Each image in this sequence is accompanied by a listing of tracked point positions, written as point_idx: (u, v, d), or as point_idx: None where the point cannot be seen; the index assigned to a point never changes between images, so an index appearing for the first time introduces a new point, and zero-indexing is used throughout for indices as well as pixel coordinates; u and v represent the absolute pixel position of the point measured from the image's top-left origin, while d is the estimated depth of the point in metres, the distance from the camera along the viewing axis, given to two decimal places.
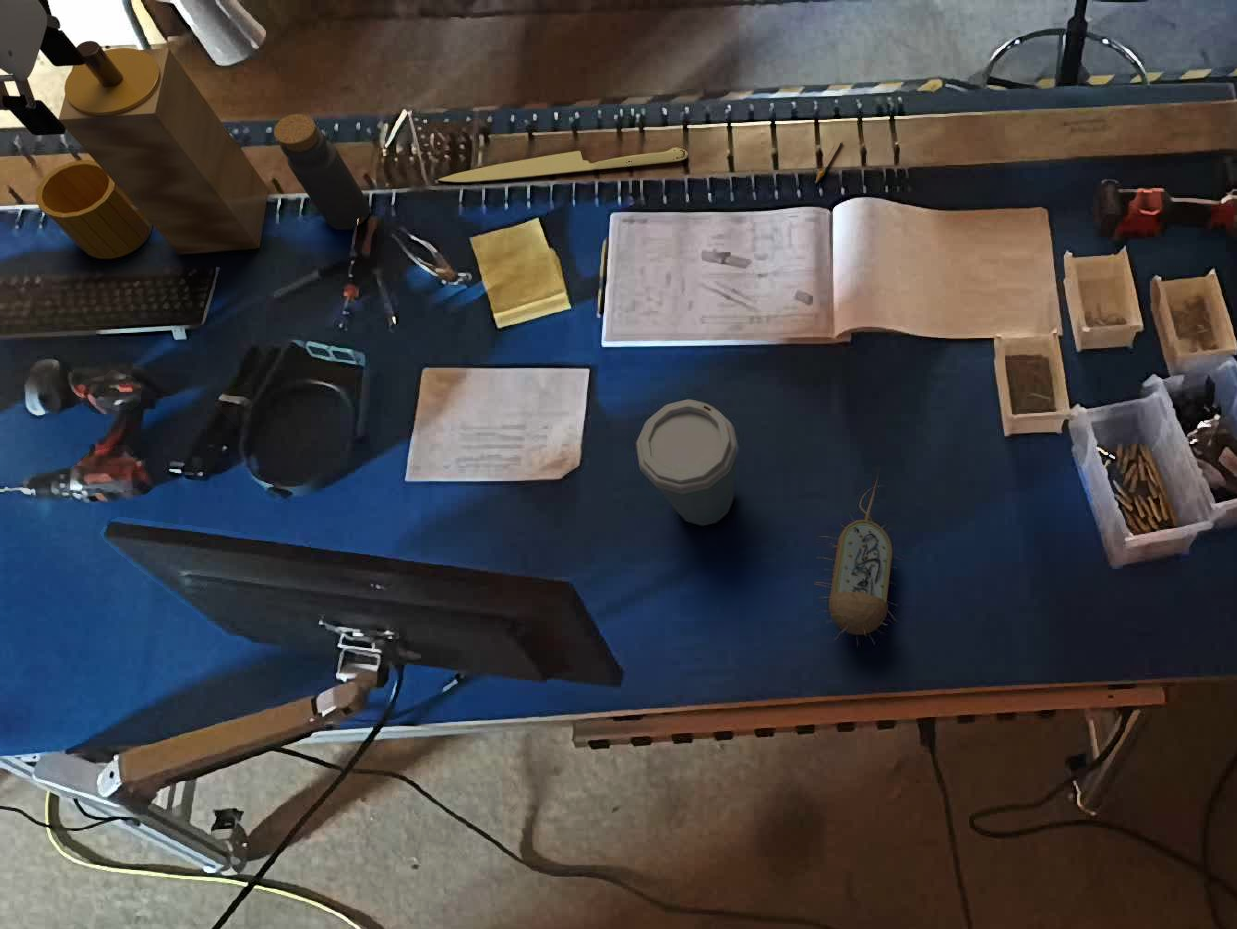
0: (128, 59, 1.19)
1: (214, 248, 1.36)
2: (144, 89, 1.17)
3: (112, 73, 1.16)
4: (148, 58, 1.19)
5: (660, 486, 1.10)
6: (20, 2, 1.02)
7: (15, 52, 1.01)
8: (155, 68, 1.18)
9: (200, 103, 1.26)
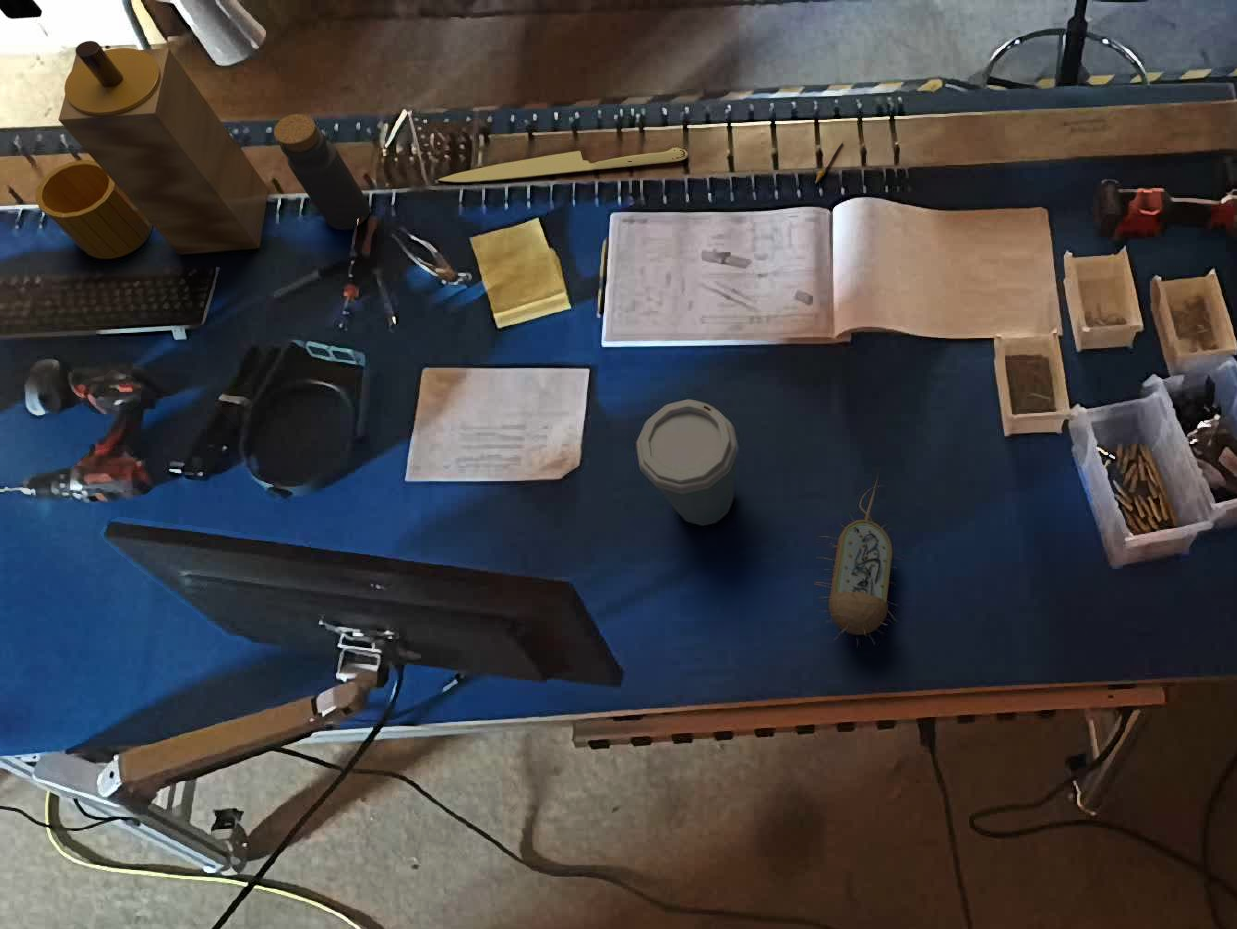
0: (128, 59, 1.19)
1: (214, 248, 1.36)
2: (144, 89, 1.17)
3: (112, 73, 1.16)
4: (148, 58, 1.19)
5: (660, 486, 1.10)
6: None
7: None
8: (155, 68, 1.18)
9: (200, 103, 1.26)
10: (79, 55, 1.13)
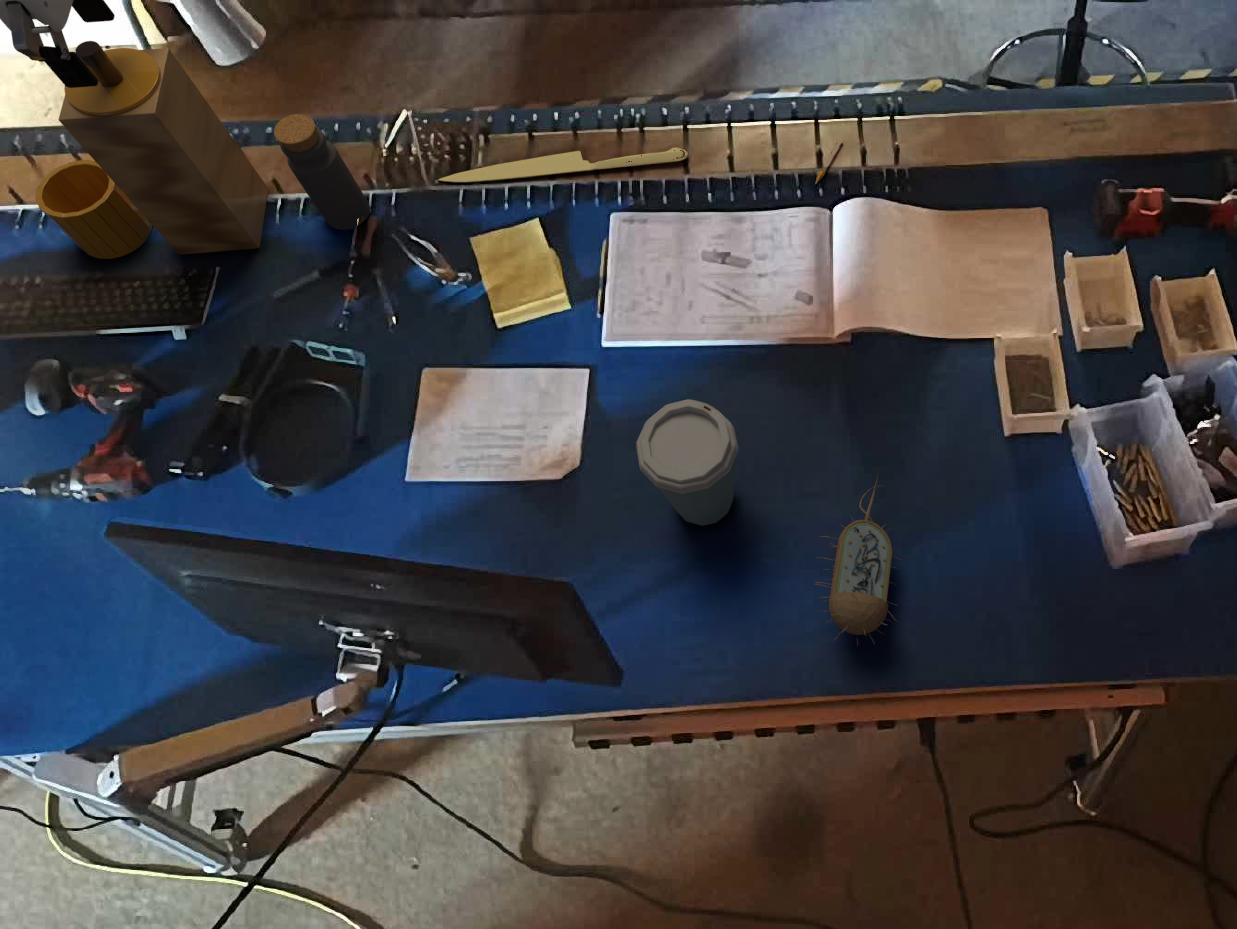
0: (128, 59, 1.19)
1: (214, 248, 1.36)
2: (144, 89, 1.17)
3: (112, 73, 1.16)
4: (148, 58, 1.19)
5: (660, 486, 1.10)
6: None
7: (50, 3, 1.05)
8: (155, 68, 1.18)
9: (200, 103, 1.26)
10: (79, 55, 1.13)
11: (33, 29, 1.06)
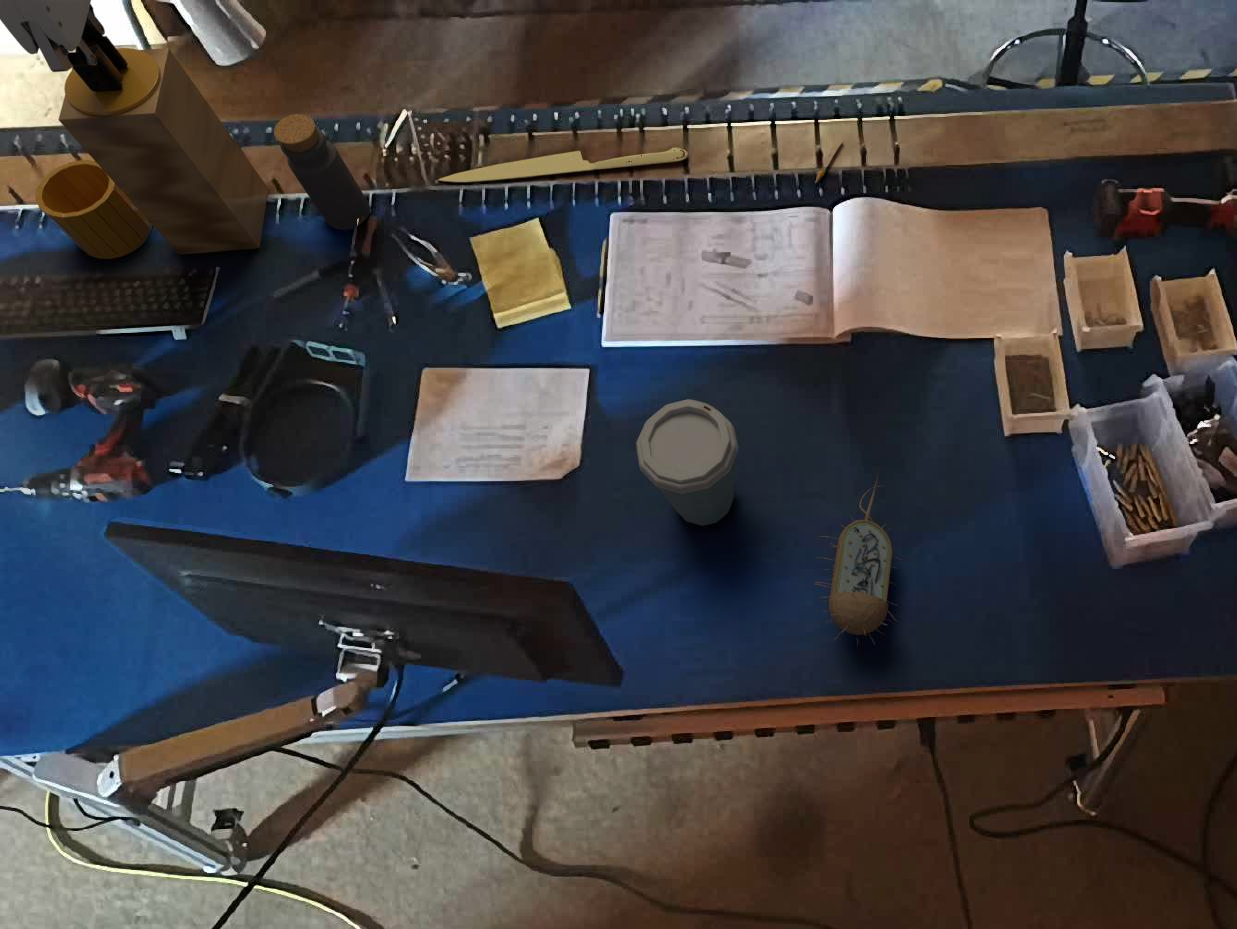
0: (128, 59, 1.19)
1: (214, 248, 1.36)
2: (144, 89, 1.17)
3: None
4: (148, 58, 1.19)
5: (660, 486, 1.10)
6: None
7: (64, 23, 1.07)
8: (155, 68, 1.18)
9: (200, 103, 1.26)
10: None
11: None
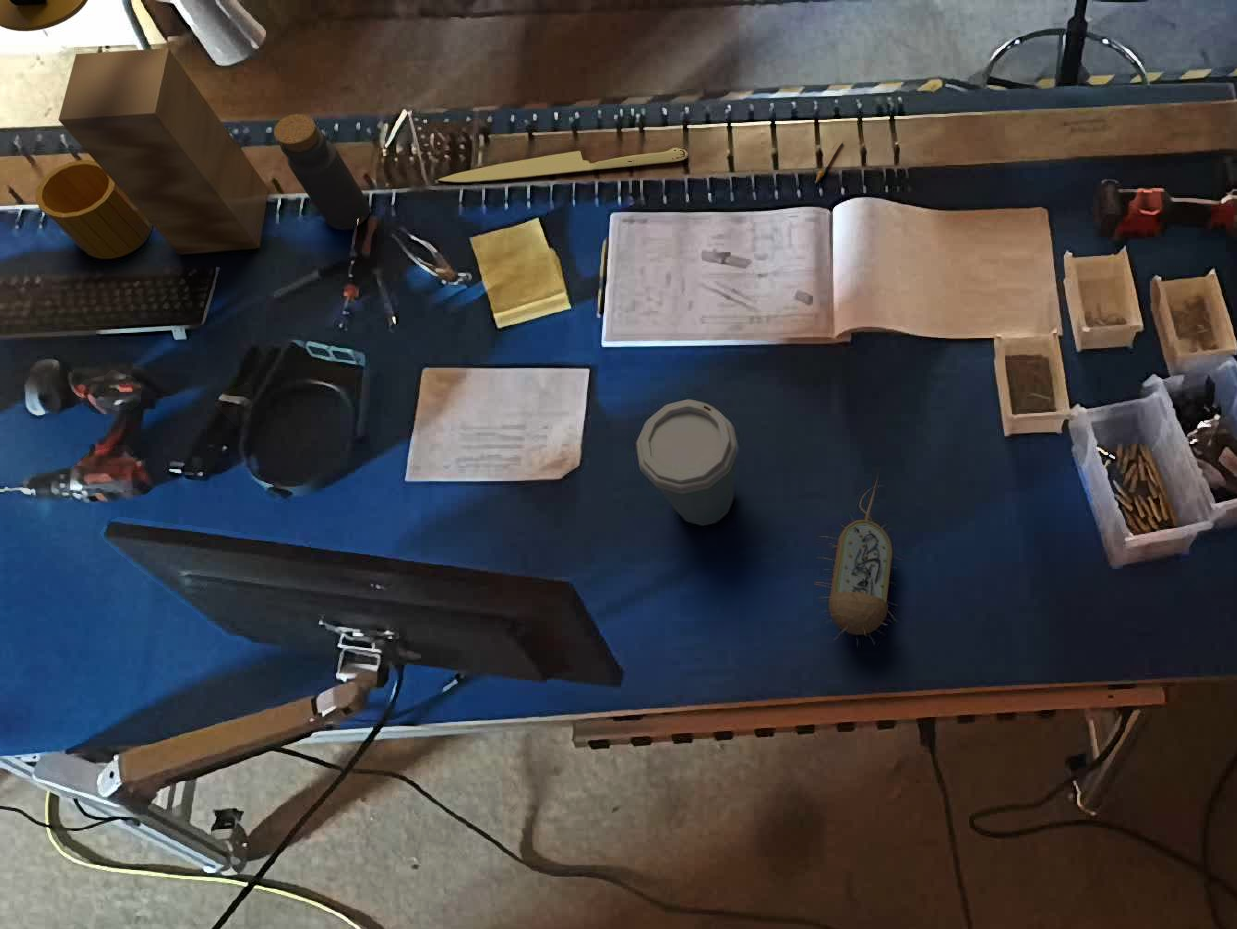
0: None
1: (214, 248, 1.36)
2: (71, 4, 1.07)
3: None
4: None
5: (660, 486, 1.10)
6: None
7: None
8: None
9: (200, 103, 1.26)
10: None
11: None
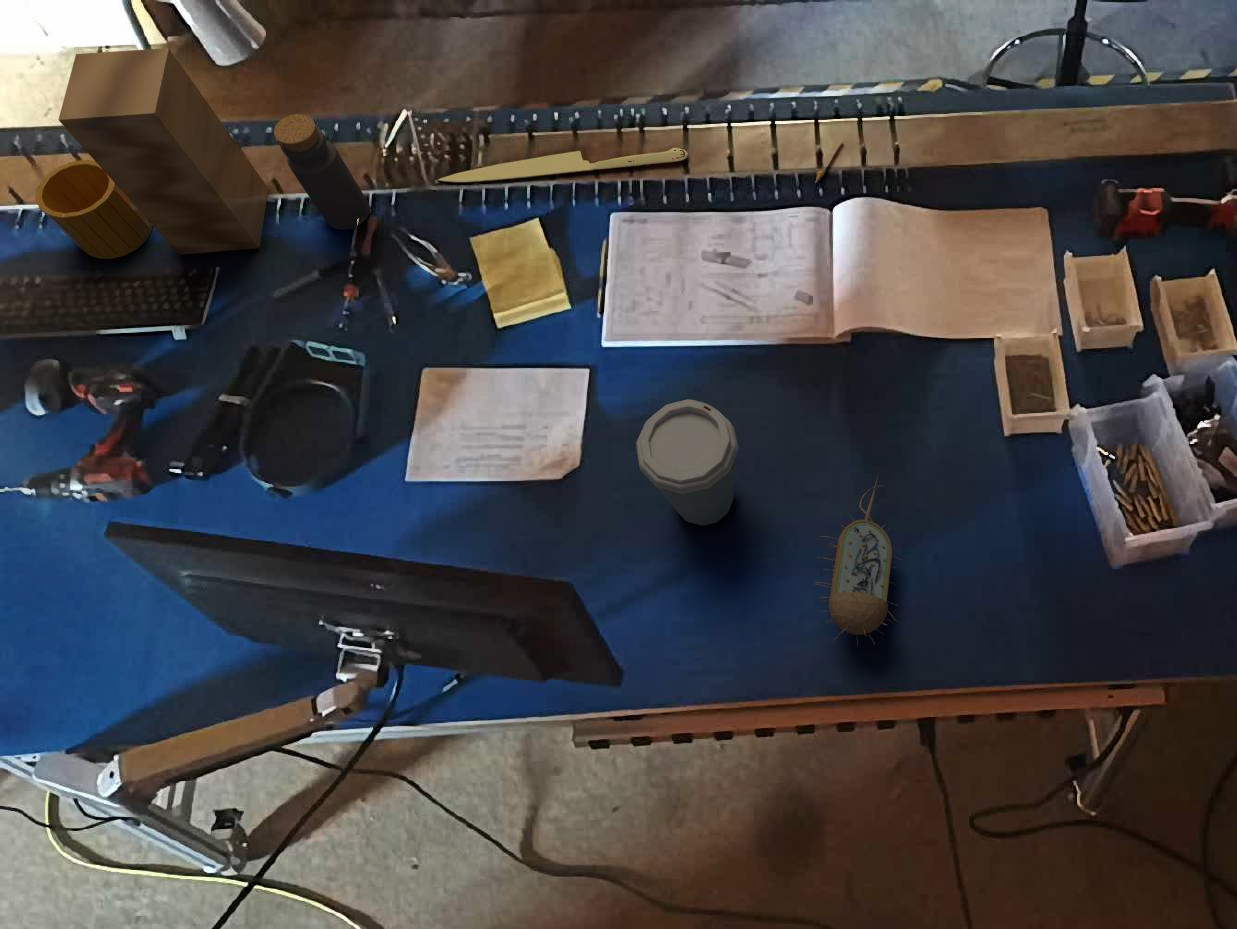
0: None
1: (214, 248, 1.36)
2: None
3: None
4: None
5: (660, 486, 1.10)
6: None
7: None
8: None
9: (200, 103, 1.26)
10: None
11: None
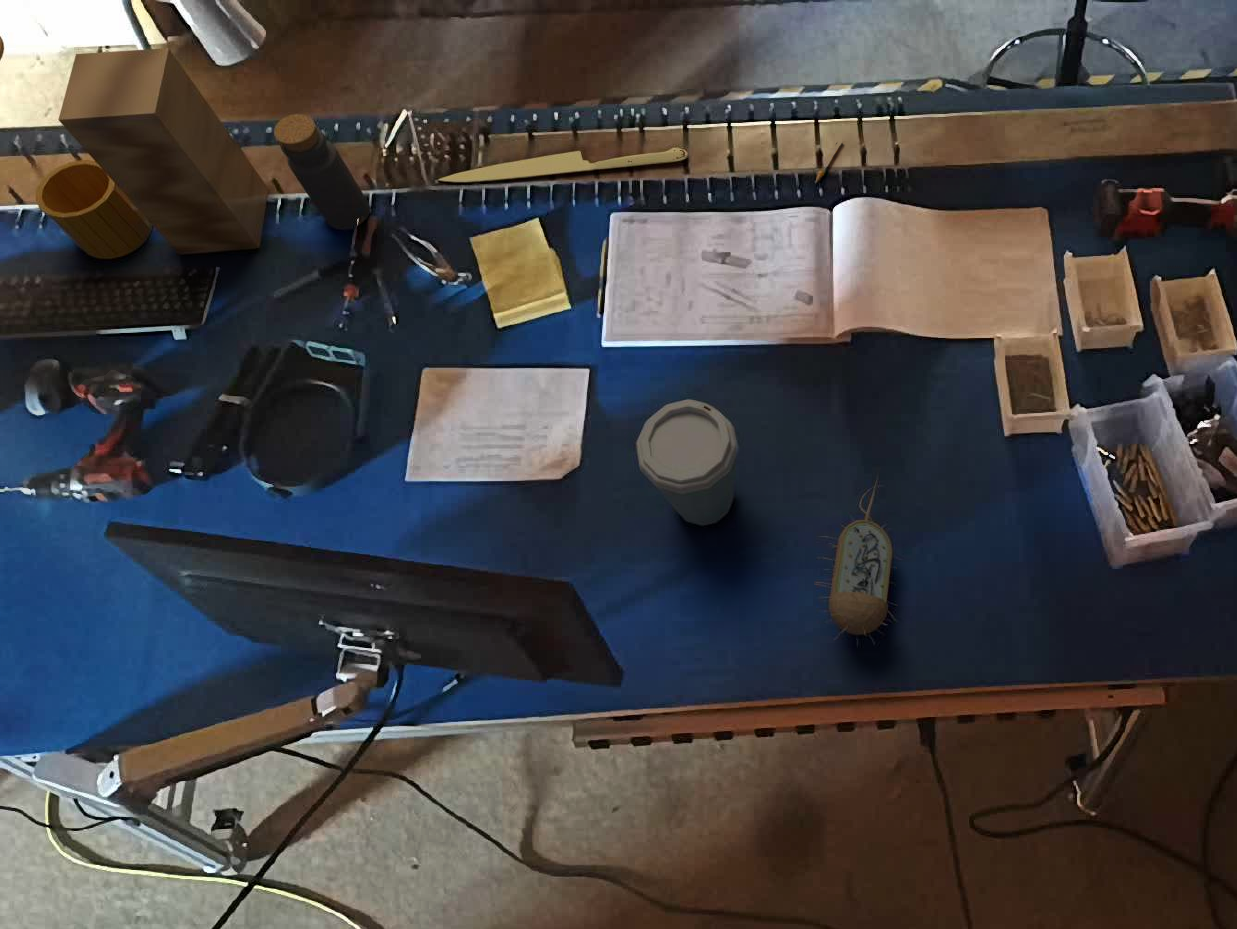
0: None
1: (214, 248, 1.36)
2: None
3: None
4: None
5: (660, 486, 1.10)
6: None
7: None
8: None
9: (200, 103, 1.26)
10: None
11: None
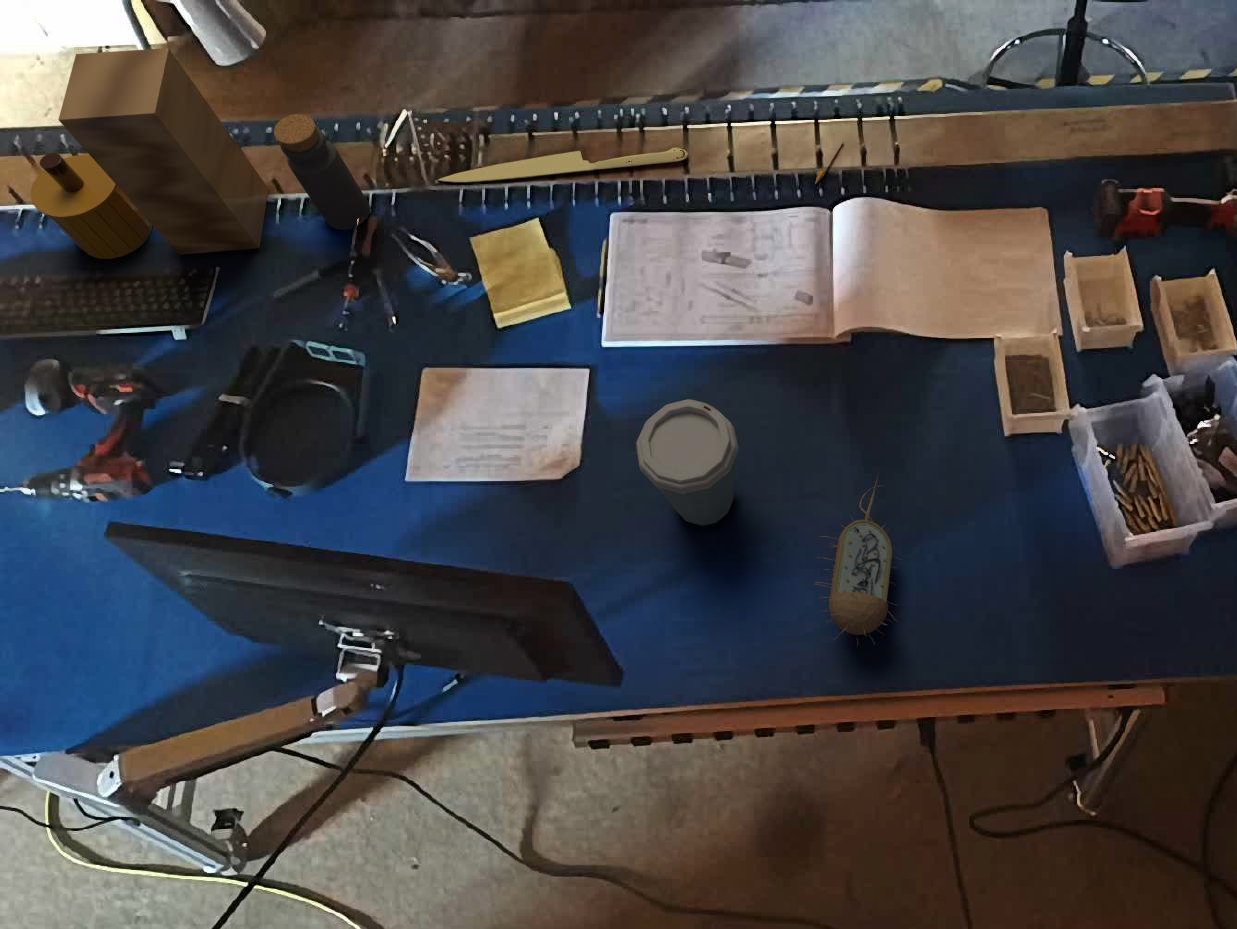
0: (89, 165, 1.31)
1: (214, 248, 1.36)
2: (103, 194, 1.29)
3: (73, 180, 1.28)
4: None
5: (660, 486, 1.10)
6: None
7: None
8: None
9: (200, 103, 1.26)
10: (43, 167, 1.25)
11: None
